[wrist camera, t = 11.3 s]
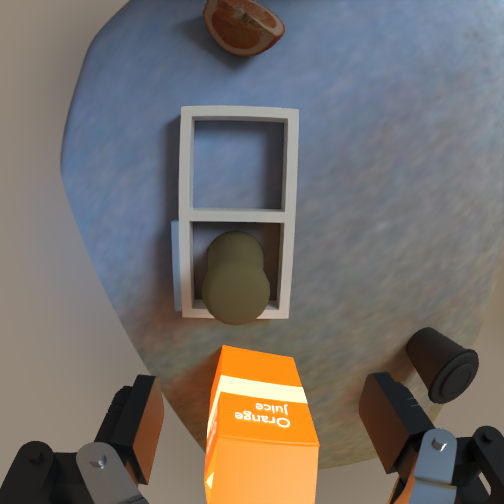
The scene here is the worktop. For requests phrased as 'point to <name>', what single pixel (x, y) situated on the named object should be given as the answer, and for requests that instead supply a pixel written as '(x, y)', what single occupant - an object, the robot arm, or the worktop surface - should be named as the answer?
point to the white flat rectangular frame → (188, 214)
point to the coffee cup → (442, 364)
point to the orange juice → (259, 432)
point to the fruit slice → (242, 26)
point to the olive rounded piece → (235, 279)
